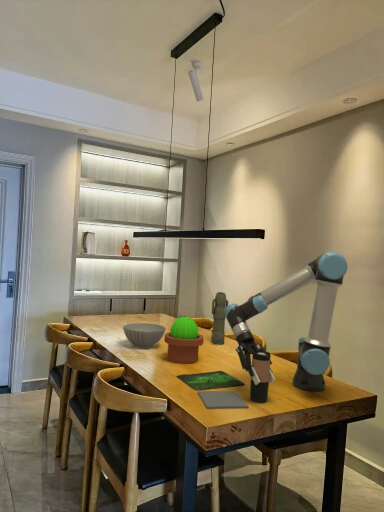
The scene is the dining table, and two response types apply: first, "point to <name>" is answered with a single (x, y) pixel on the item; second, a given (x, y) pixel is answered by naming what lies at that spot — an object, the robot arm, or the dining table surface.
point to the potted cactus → (183, 341)
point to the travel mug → (260, 376)
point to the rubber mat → (222, 399)
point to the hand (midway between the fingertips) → (265, 382)
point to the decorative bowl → (143, 334)
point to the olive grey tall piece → (219, 318)
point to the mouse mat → (209, 380)
